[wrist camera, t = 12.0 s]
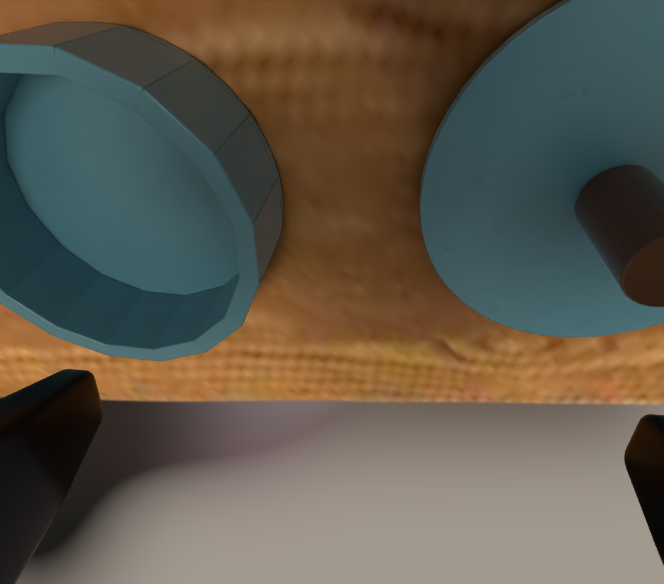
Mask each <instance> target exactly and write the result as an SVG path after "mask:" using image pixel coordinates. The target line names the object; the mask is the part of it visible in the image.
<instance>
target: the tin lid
mask: <svg viewBox="0 0 664 584" xmlns="http://www.w3.org/2000/svg"><path fill="white" fill-rule="evenodd" d="M419 204H420V220H421V230H422V234H423V239H424V243H425V247H426V250H427V252H428V255H429V257H430V260H431V262H432V264H433V266H434V268H435V269H436V271H437V273H438V275H439V276H440V278H441V279H442V280H443V282H444V283H445V284H446V285H447V287H448V288H449V289H450V290H451V292H452V293H454V294H455V295H456V296H457V297H458V298H459V299H460V300H461V301H462V302H463V303H465V304H466V305H467V306H469V307H470V308H472V309H473V310H475V311H476V312H477V313H479V314H481V315H483V316H485V317H487V318H488V319H490V320H492V321H494V322H496V323H499V324H502V325H505V326H507V327H510V328H513V329H516V330H520V331H524V332H528V333H533V334H540V335H547V336H557V337H594V336H603V335H611V334H618V333H623V332H628V331H633V330H638V329H642V328H646V327H649V326H653V325H656V324H660V323H663V322H664V0H563V1H561V2H559V3H558V4H556V5H554V6H553V7H551V8H549V9H548V10H546V11H544V12H543V13H541V14H539V15H538V16H537V17H535V18H534V19H533V20H531V21H530V22H529V23H527V24H526V25H525V26H524V27H522V28H521V29H520V30H518V31H517V32H516V33H514V34H513V35H512V36H510V37H509V38H508V39H507V40H506V41H505V42H504V43H503V44H502V45H501V46H500V47H499V48H498V49H497V50H496V51H495V52H493V53H492V54H491V55H490V56H489V57H488V58H487V59H486V60H485V61H484V62H483V64H482V65H481V66H480V67H479V68H478V69H477V71H476V72H475V73H474V74H473V75H472V76H471V78H470V79H469V80H468V81H467V82H466V84H465V85H464V86H463V88H462V89H461V91H460V92H459V94H458V95H457V97H456V98H455V100H454V101H453V103H452V104H451V105H450V107H449V108H448V110H447V112H446V114H445V116H444V118H443V120H442V122H441V124H440V126H439V127H438V129H437V131H436V133H435V136H434V138H433V141H432V144H431V147H430V149H429V152H428V155H427V157H426V162H425V166H424V170H423V175H422V179H421V189H420V201H419Z"/></svg>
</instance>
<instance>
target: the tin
mask: <svg viewBox="0 0 664 584" xmlns="http://www.w3.org/2000/svg"><path fill="white" fill-rule="evenodd" d="M282 217H283V199H282V191H281V183H280V179H279V175H278V171H277V167H276V164H275V161H274V158H273V156H272V153H271V151H270V148H269V146H268V143H267V142H266V140H265V138H264V136H263V134H262V132H261V131H260V129H259V127H258V125H257V123H256V122H255V120H254V119H253V118H252V116H251V115H250V113H249V112H248V110H247V109H246V108H245V106H244V105H243V103H242V102H241V101H240V100H239V99H238V98H237V97H236V95H235V94H234V93H233V92H232V91H231V90H230V89H229V87H228V86H227V85H226V84H225V83H224V82H222V81H221V80H220V79H219V78H218V77H217V76H216V75H215V74H214V73H213V72H211V71H210V70H209V69H208V68H207V67H206V66H204V65H203V64H201V63H200V62H199V61H197V60H196V59H195V58H193V57H192V56H190V55H189V54H188V53H186V52H184V51H183V50H181V49H179V48H177V47H175V46H174V45H172V44H170V43H168V42H167V41H165V40H163V39H160V38H158V37H155V36H153V35H150V34H148V33H146V32H143V31H141V30H137V29H133V28H129V27H126V26H122V25H118V24H110V23H101V22H78V23H58V22H55V23H50V24H46V25H42V26H37V27H33V28H28V29H24V30H20V31H15V32H11V33H7V34H2V35H0V304H2V305H4V306H5V307H7V308H8V309H10V310H12V311H13V312H15V313H17V314H18V315H20V316H21V317H23V318H25V319H26V320H28V321H29V322H31V323H33V324H34V325H36V326H38V327H39V328H41V329H42V330H44V331H46V332H47V333H49V334H50V335H53V336H55V337H58V338H60V339H63V340H66V341H69V342H71V343H74V344H77V345H80V346H82V347H85V348H88V349H91V350H94V351H96V352H99V353H102V354H105V355H109V356H116V357H125V358H134V359H143V360H152V361H165V360H170V359H175V358H180V357H185V356H190V355H194V354H199V353H204V352H207V351H209V350H210V349H211V348H213V347H214V346H215V345H217V344H218V343H219V342H221V341H222V340H224V339H225V338H226V337H228V336H229V335H230V334H232V333H233V332H234V331H236V330H237V329H238V328H240V327H241V326H242V325H243V323H244V320H245V318H246V315H247V313H248V311H249V308H250V306H251V304H252V301H253V299H254V296H255V294H256V292H257V289H258V287H259V285H260V282H261V280H262V277H263V275H264V273H265V270H266V268H267V266H268V263H269V261H270V258H271V256H272V254H273V251H274V249H275V247H276V244H277V242H278V239H279V237H280V235H281V230H282V224H281V223H282Z"/></svg>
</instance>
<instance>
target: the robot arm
mask: <svg viewBox="0 0 664 584" xmlns="http://www.w3.org/2000/svg"><path fill="white" fill-rule="evenodd" d="M102 414H103V409H102V404H101V400H100V396H99V392H98V388H97V385H96V381H95V378H94V375H93V374H92V373H91V372H89V371H86V370H73V369H66V370H62V371H60V372H58V373H55V374H53V375H51V376H49V377H47V378H45V379H43V380H40V381H38V382H36V383H34V384H32V385H30V386H27V387H25V388H23V389H21V390H19V391H17V392H14V393H12V394H10V395H8V396H6V397H4V398H1V399H0V584H15V583H16V581H17V580H18V578H19V576H20V575H21V573H22V571H23V570H24V568H25V566H26V565H27V563H28V561H29V560H30V558H31V556H32V555H33V553H34V551H35V549H36V548H37V546H38V544H39V543H40V541H41V539H42V538H43V536H44V534H45V533H46V531H47V529H48V528H49V526H50V524H51V522H52V521H53V519H54V517H55V515H56V514H57V512H58V510H59V508H60V507H61V504H62V503H63V500H64V499H65V497H66V495H67V492H68V490H69V488H70V486H71V484H72V482H73V480H74V478H75V476H76V474H77V471H78V469H79V467H80V465H81V463H82V461H83V459H84V457H85V454H86V452H87V450H88V448H89V446H90V443H91V442H92V440H93V438H94V435H95V433H96V431H97V429H98V427H99V425H100V422H101V419H102ZM624 457H625V465H626V469H627V471H628V474H629V477H630V479H631V482H632V484H633V487H634V490H635V492H636V495H637V498H638V500H639V503H640V506H641V508H642V511H643V514H644V516H645V519H646V522H647V524H648V527H649V529H650V532H651V535H652V537H653V540H654V543H655V545H656V548H657V550H658V553H659V555H660V558H661V560H662V562H663V565H664V415H652V414H649V415H645V416H644V417H642V418H641V419H640V421H639V423H638V425H637V427H636V429H635V431H634V433H633V435H632V437H631V440H630V442H629V444H628V446H627V448H626V451H625V456H624Z"/></svg>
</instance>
